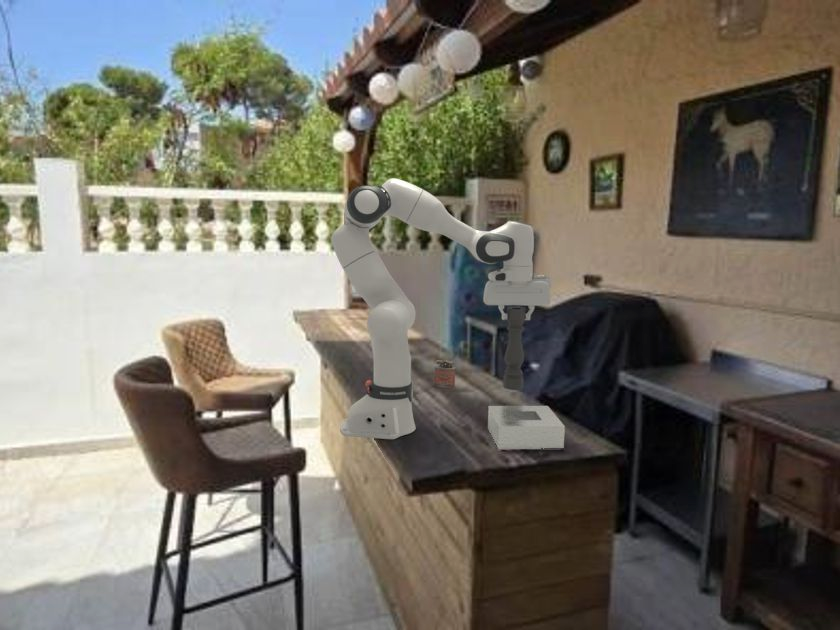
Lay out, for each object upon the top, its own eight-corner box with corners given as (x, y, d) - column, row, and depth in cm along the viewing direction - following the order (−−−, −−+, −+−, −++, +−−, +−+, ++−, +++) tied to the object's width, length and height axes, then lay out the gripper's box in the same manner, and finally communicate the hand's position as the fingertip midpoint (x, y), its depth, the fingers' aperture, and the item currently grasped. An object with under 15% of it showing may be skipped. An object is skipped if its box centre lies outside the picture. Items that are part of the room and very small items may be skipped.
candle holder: (499, 386, 188) (502, 308, 184) (511, 383, 192) (514, 306, 188) (514, 391, 183) (518, 310, 179) (527, 387, 188) (530, 308, 184)
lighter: (455, 386, 226) (456, 360, 225) (454, 388, 223) (454, 362, 222) (435, 384, 229) (435, 358, 227) (433, 386, 225) (433, 360, 224)
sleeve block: (498, 450, 163) (499, 426, 162) (487, 428, 181) (488, 405, 180) (563, 450, 164) (564, 426, 163) (546, 428, 182) (547, 405, 181)
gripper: (548, 274, 186) (546, 318, 188) (483, 273, 185) (481, 317, 187) (554, 276, 180) (551, 321, 182) (486, 275, 179) (485, 321, 181)
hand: (515, 319), depth 184 cm, fingers closed on candle holder, 6 cm apart
